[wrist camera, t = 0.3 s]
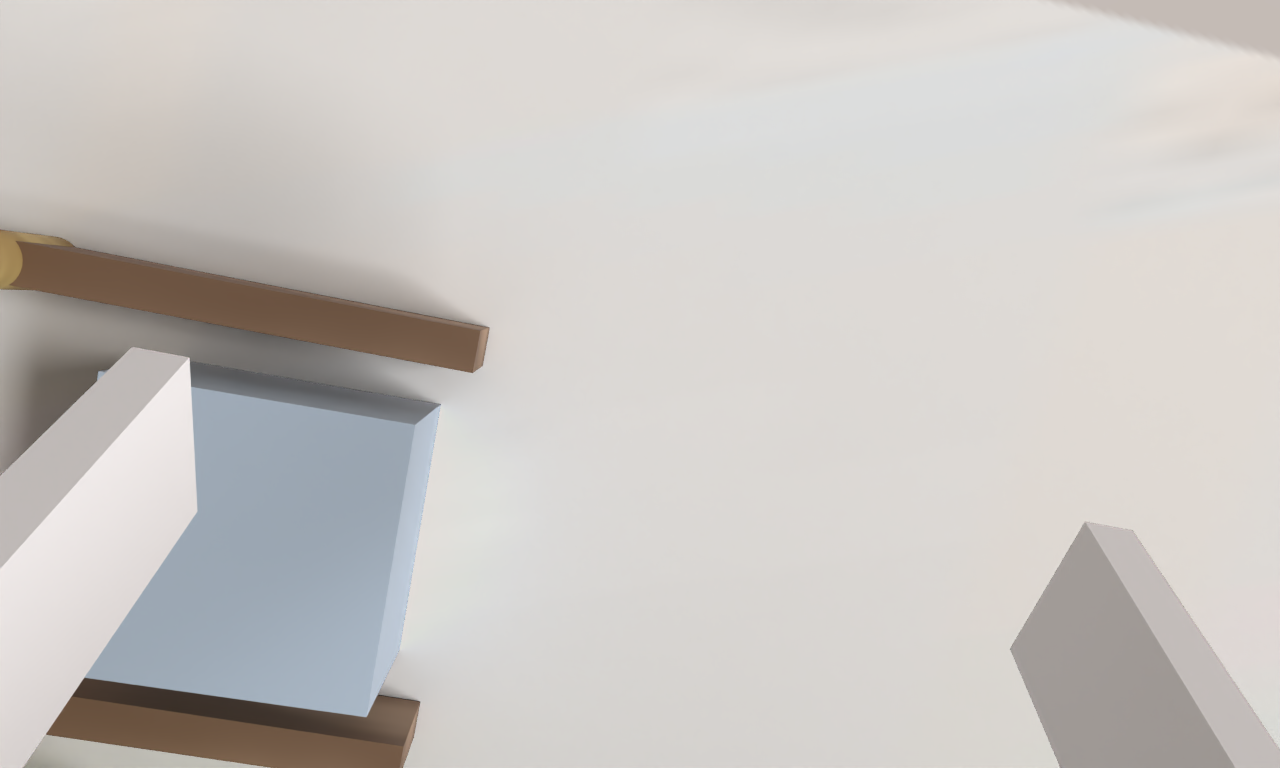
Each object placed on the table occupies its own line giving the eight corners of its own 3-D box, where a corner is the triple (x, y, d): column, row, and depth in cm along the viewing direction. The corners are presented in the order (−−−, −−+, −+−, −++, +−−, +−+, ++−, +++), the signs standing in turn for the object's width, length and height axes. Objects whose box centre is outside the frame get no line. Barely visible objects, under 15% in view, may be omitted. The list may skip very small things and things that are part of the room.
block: (400, 647, 30) (366, 717, 25) (144, 609, 29) (56, 673, 24) (441, 403, 29) (415, 424, 24) (181, 358, 28) (98, 370, 23)
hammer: (412, 743, 30) (381, 831, 25) (-37, 675, 28) (-165, 754, 23) (490, 321, 29) (474, 325, 24) (29, 231, 27) (-90, 215, 22)
